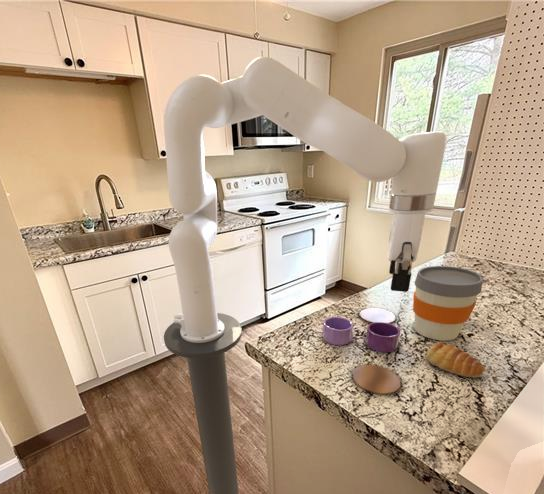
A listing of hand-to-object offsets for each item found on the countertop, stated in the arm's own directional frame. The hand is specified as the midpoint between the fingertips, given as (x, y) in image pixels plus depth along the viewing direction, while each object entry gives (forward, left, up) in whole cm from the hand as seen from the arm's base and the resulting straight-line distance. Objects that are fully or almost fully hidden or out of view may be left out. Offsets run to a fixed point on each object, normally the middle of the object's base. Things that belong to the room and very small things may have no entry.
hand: (397, 281), depth 69 cm
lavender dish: (-11, -2, -16) cm, 20 cm away
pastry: (+12, -6, -16) cm, 21 cm away
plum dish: (-1, -2, -16) cm, 16 cm away
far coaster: (-2, +12, -16) cm, 20 cm away
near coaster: (-2, -16, -16) cm, 22 cm away
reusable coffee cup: (+11, +8, -16) cm, 21 cm away
